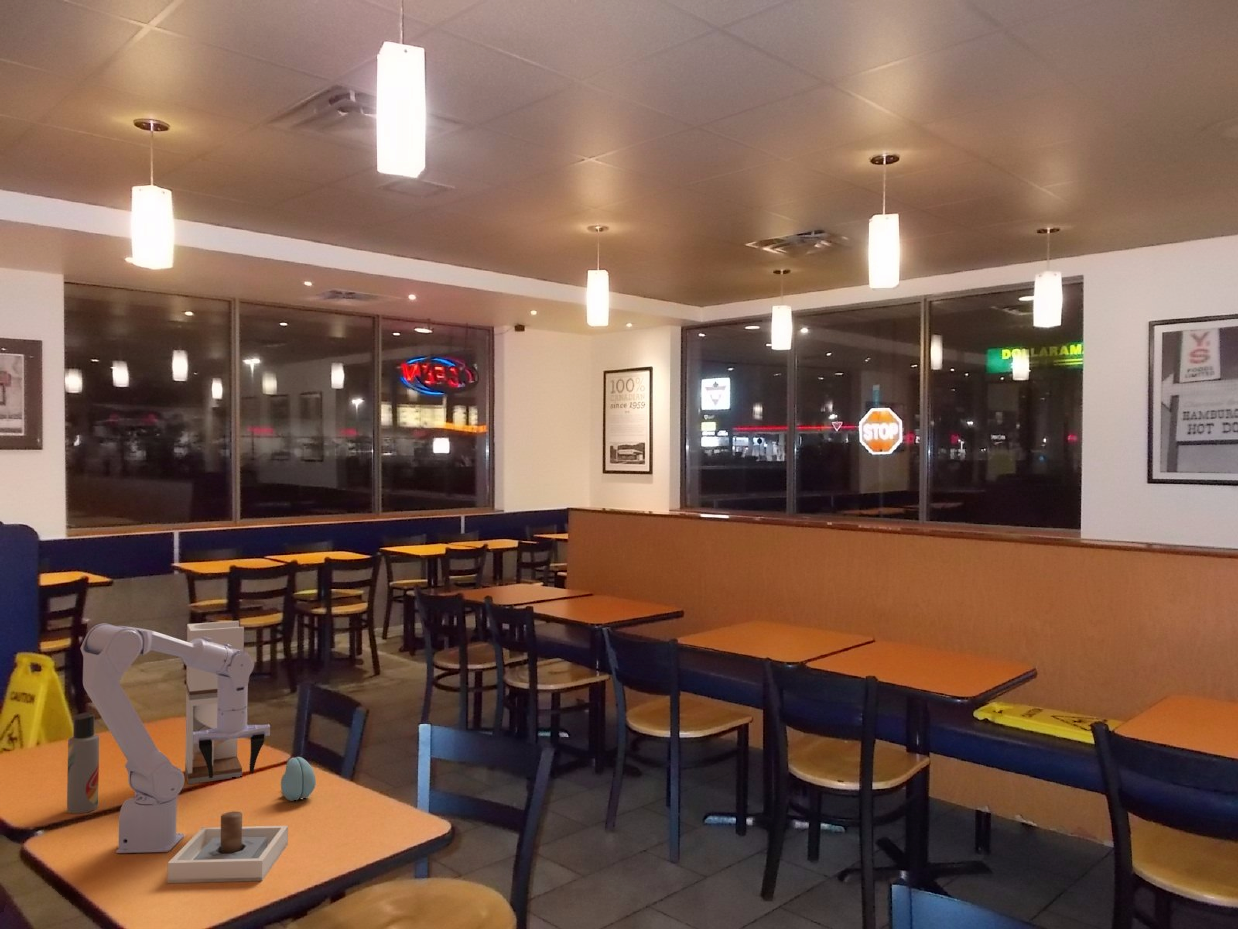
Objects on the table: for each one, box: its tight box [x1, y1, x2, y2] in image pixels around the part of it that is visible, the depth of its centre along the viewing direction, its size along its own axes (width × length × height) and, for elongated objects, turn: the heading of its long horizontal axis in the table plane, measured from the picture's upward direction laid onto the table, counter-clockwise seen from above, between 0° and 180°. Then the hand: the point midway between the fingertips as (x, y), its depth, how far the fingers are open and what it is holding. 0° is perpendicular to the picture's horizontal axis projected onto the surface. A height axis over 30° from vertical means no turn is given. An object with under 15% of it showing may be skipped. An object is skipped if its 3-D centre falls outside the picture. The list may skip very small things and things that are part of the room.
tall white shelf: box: [184, 620, 245, 785], centre depth 216 cm, size 11×11×35 cm
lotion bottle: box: [66, 712, 100, 815], centre depth 193 cm, size 6×6×20 cm
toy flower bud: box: [280, 756, 317, 802], centre depth 202 cm, size 7×9×12 cm
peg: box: [220, 811, 243, 854], centre depth 167 cm, size 4×4×8 cm
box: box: [167, 825, 289, 884], centre depth 167 cm, size 16×16×4 cm
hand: (231, 774), depth 187 cm, fingers open, 7 cm apart
